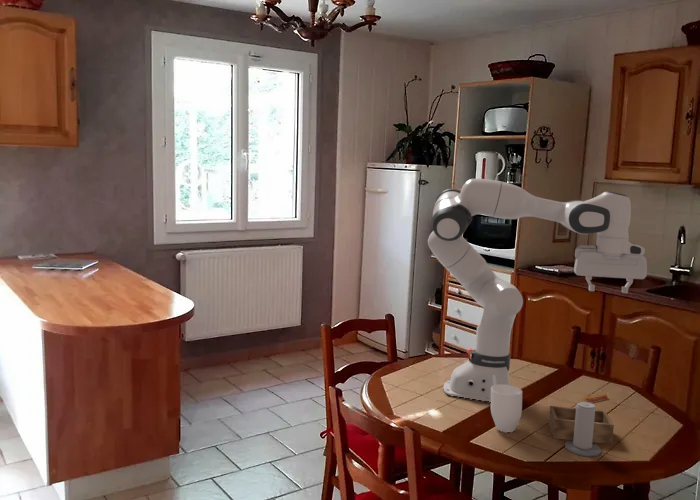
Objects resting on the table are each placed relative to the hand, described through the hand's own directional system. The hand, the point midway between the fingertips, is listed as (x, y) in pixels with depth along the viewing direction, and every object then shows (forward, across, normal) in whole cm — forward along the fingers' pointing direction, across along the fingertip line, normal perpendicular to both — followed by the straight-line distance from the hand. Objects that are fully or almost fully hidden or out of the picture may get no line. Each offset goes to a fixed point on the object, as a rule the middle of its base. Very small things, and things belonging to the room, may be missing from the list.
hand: (607, 291), depth 189 cm
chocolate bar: (+40, +2, +14) cm, 42 cm away
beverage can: (+39, -9, -26) cm, 47 cm away
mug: (+39, -29, -16) cm, 51 cm away
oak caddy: (+39, -8, -15) cm, 43 cm away
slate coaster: (+39, -9, -26) cm, 48 cm away
